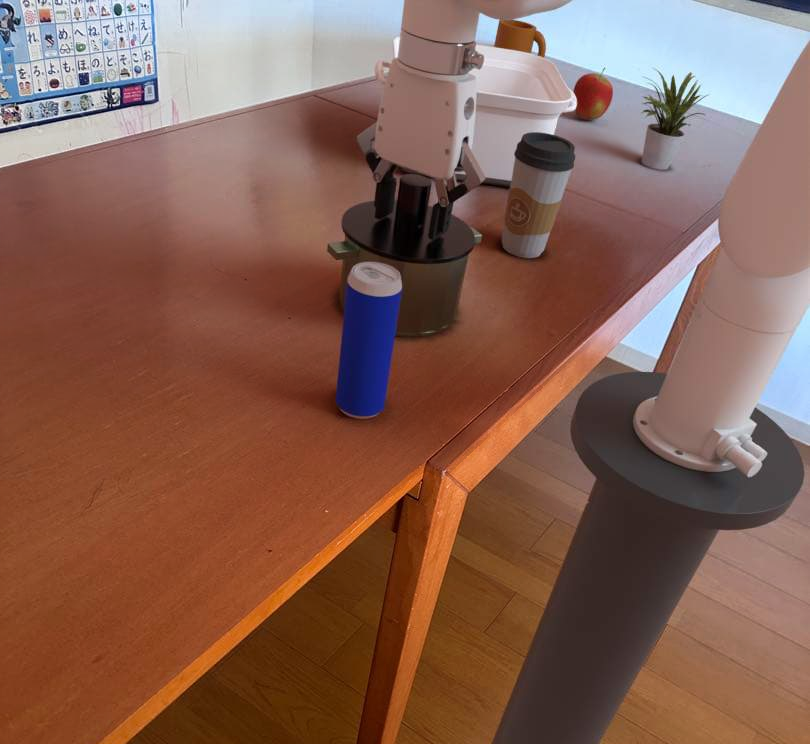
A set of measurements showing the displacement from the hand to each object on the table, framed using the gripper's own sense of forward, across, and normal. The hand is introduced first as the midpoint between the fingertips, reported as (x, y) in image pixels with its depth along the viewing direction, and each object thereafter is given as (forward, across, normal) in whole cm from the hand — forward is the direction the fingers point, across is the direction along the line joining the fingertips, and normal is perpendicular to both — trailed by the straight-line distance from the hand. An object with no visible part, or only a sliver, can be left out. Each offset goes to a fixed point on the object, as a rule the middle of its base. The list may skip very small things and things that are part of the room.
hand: (410, 224), depth 95 cm
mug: (+11, +37, -120) cm, 126 cm away
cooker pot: (+11, 0, 0) cm, 11 cm away
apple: (+11, +11, -99) cm, 100 cm away
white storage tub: (+11, +18, -54) cm, 58 cm away
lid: (+1, 0, 0) cm, 1 cm away
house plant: (+11, -8, -86) cm, 87 cm away
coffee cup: (+11, -5, -28) cm, 31 cm away
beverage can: (+11, -8, +22) cm, 25 cm away
